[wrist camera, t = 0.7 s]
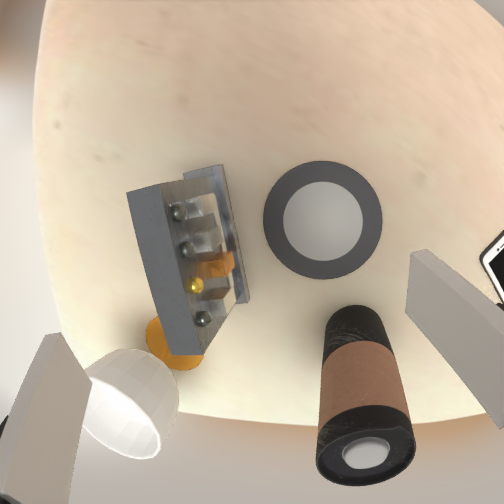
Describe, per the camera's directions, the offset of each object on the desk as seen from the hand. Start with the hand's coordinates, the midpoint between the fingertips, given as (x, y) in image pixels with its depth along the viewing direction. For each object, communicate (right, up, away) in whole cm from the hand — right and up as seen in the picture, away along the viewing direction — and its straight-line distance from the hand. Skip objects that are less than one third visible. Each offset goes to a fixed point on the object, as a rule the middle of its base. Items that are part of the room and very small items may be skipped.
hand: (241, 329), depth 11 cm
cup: (-10, -10, +33) cm, 36 cm away
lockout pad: (+8, +6, +24) cm, 26 cm away
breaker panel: (-3, +4, +27) cm, 27 cm away
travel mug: (+13, -7, +26) cm, 30 cm away
